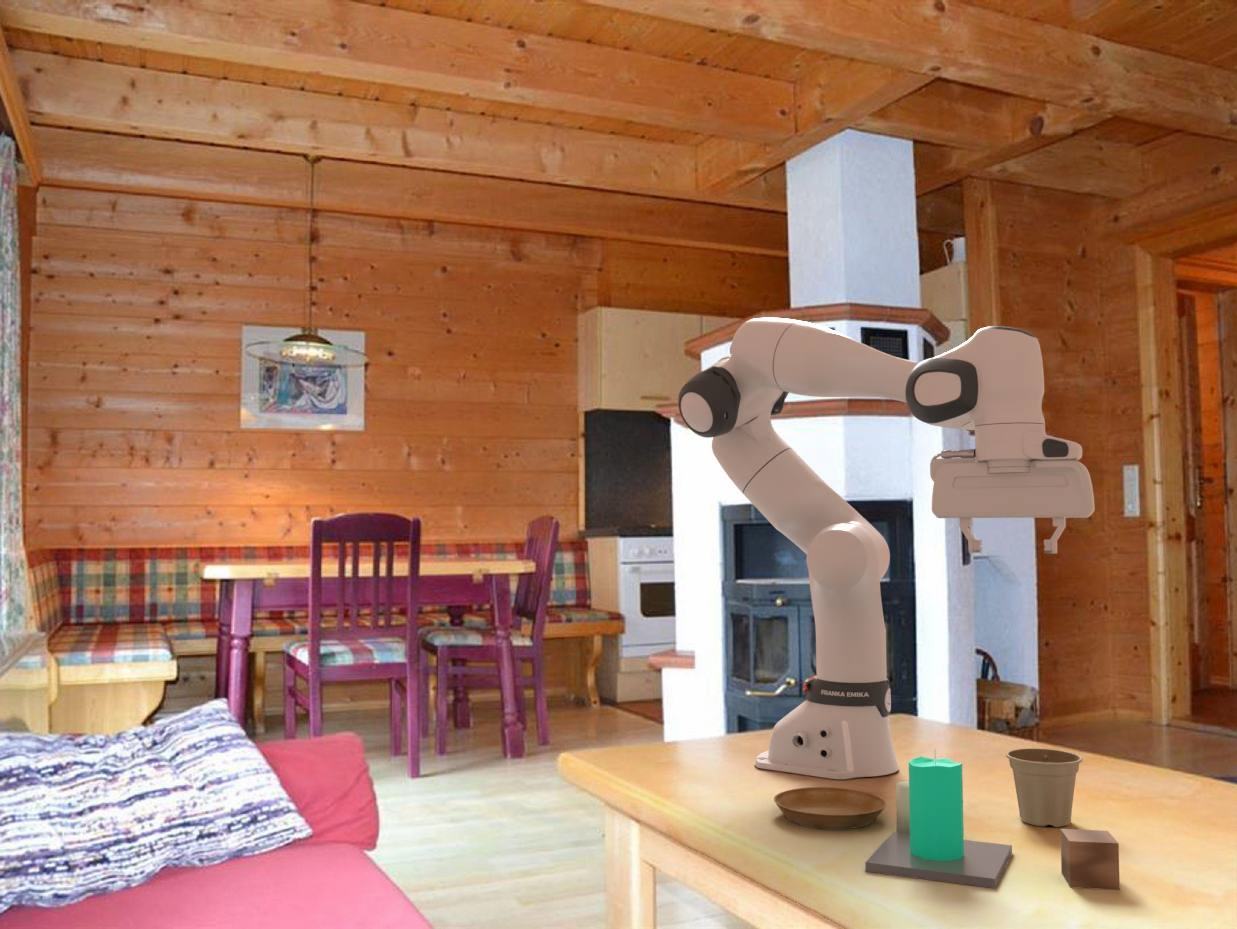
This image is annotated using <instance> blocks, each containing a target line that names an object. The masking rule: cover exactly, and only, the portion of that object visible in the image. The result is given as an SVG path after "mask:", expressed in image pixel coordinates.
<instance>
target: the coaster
mask: <svg viewBox="0 0 1237 929" xmlns="http://www.w3.org/2000/svg"><path fill="white" fill-rule="evenodd" d="M1012 856H1013V845H1011V844H1003V843H996V842H995V843H994V842H987V841H985V842H984V841H980V840H979V841H977V840H969V839H964V855H963V857H962V858H960V859H956V860H952V861H936V860H928V859H923V858H920V857H917V856H914V855H913V854H912V853H911V852H910V833H901V832H897V831H892V833H891V834H889V835H888V837H887V838H886V839H885V840H884V841H883V842H882V843H881V845H880V846H878V848H876V850H875V851H874V852H873V853H872V854H871V856H870V857H868V859H867V860H866V861H865V862H864V863H865V867H864V868H865V872H867V873H868V872H869V873H877V874H884V875H885V874H886V875H891V876H897V877H898V876H900V877H906V878H916V879H923V880H928V881H935V882H937V881H938V882H944V883H945V882H946V883H952V884H957V885H958V884H959V885H967V886H976V887H982V888H991V889H996V887H997V885H998V883H999V881H1000V880H1001V877H1002V875H1003V872H1004V871H1005V869H1006V867H1007V864H1008V863H1009V862H1010V858H1011V857H1012Z"/></svg>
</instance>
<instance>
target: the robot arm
mask: <svg viewBox="0 0 1237 929" xmlns="http://www.w3.org/2000/svg"><path fill="white" fill-rule="evenodd" d="M730 344H731V345H730V354H728V355H726V356H724V357H722V358H720V359H719V360H717V362H715V363H713V364H712V365H711V366H708V367H707V368H706V369H704V370H702V371H700V372H698V373H696V374H695V375H693V376H692V377H691V378H690V379H689V380H688V381H687V382H686V383H685V384H684V385H683V386H682V388H681V389H680V391H679V394H678V398H677V405H678V411H679V414H680V416H681V419H682V420H683V423H685V425H686V427H688V428H689V430H690V431H692V432H693V433H694V434H695V435H697V436H699V437H702V438H707V439H708V438H712V440H711V449H712V453H713V455H714V457H715V459H716V460H717V461H718V464H719V465H720V467H721V468H722V470H723V471H724V473H725V474H726V475H727V477H728V478H729V479H730V480H731V482H732V483H733V484H734V485H735V486H736V487H737V489H738V490H739V491H740V492H741V493H742V494H743V495H744V496H745V498H747V500H749V502H750V503H751V504H752V505H753V506H754V507H755V508H756V509H757V510H758V512H760V513H761V515H763V517H764V518H765V519H766V520H767V521H768V522H769V523H770V524H771V526H773V527H774V528H775V529H776V530H777V531H778V532H779V533H781V534H782V535H783V536H785V537H786V538H787V539H788V540H789V541H791V542H792V543H793V544H794V545H796V547H798V548H799V549H800V550H801V551H802V552H803V553H804V554H806V565H807V566H806V567H807V570H808V578H809V590H810V598H811V606H812V612H813V617H814V627H815V653H816V654H815V655H816V656H815V660H816V661H815V662H816V666H815V667H816V675H814V676H812V677H810V678H809V679H808V681H805V682H804V684H803V685H802V687H803V689H802V692H804V697H805V699H806V700H804V701H803V702H802V703H800V704H799V705H798V706H796V707H795V708H794V709H792V710H791V711H790V712H789V713H787V714H786V715H785V716H783V717H782V718H781V719H780V720H779V721H777V722H776V724H775V725H774V726H773V728H772V731H771V735H770V739H769V745H768V746H769V747H768V750H766V751H763V752H761V753H759V754H758V755H757V756H756V758H755V762H754V763H755V764H754V765H755V766H756V768H759V769H764V770H770V771H771V770H772V771H778V772H785V773H790V774H791V773H792V774H797V775H805V776H812V777H818V778H825V779H832V780H847V779H855V778H864V777H865V778H866V777H870V778H871V777H879V776H886V775H891V774H894V773H896V772H898V771H899V770H900V767H899V764H898V762H897V758H896V754H895V750H894V746H893V740H892V735H891V725H890V717H889V716H890V713H891V710H892V709H891V708H892V706H891V705H892V698H891V696H892V695H891V694H892V693H891V686H890V680H889V679H888V678H887V675H888V674H887V672H888V671H887V669H888V668H887V629H886V624H885V619H884V617H885V616H884V612H883V611H884V610H883V604H882V603H883V602H882V595H881V593H882V592H881V580H882V579H883V578H884V576H885V575H886V573H887V571H888V569H889V566H890V561H891V559H890V558H891V554H890V553H891V552H890V548H889V545H888V543H887V541H886V539H885V538H884V536H883V535H882V534H881V533H880V531H879V530H877V529H876V528H875V527H874V526H873V525H872V524H871V523H870V522H869V521H868V520H867V519H866V518H865V517H863V515H861V513H859V512H858V511H857V510H856V509H855V508H854V507H853V506H852V505H851V504H849V503H848V501H846V500H845V499H844V498H843V497H842V496H841V495H840V494H838V493H837V492H836V490H834V489H833V488H832V487H830V486H829V485H828V484H827V483H826V482H825V481H824V480H823V479H822V478H821V477H820V476H819V475H818V473H817V472H816V471H814V469H812V468H811V466H809V464H808V463H807V462H806V461H805V460H804V459H803V458H802V457H801V456H800V455H799V454H798V453H797V451H795V449H793V448H792V447H791V445H789V444H788V443H787V442H786V441H785V440H784V439H783V438H782V437H781V436H780V435H779V434H778V433H777V432H776V431H775V428H774V427H773V425H772V421H771V419H772V418H771V416H776V415H778V414H779V415H780V413H781V412H782V411H783V410H784V407H785V406H784V405H785V401H786V398H787V397H788V395H789V393H790V394H792V395H799V396H805V397H806V396H807V397H814V398H815V397H816V398H817V397H819V398H820V397H821V398H853V397H854V398H856V397H857V398H859V397H860V398H864V397H865V398H867V397H868V398H879V399H880V398H882V399H890V400H894V401H899V402H902V403H906V404H907V408H908V410H909V412H910V413H911V414H912V415H913V417H914V418H916V419H917V420H918V421H921V422H922V423H926V424H927V425H930V426H934V427H941V428H950V429H956V430H964V431H967V432H971V433H974V448H971V449H957V450H952V449H946V450H945V449H944V450H942V451H940V453H937V454H935V455H934V456H933V457H932V458H931V461H930V463H929V469H930V471H929V473H930V478H931V481H933V486H932V498H931V512H932V514H933V515H934V516H935V517H936V518H937V519H959V522H958V523H959V529H960V530H961V531H962V533H963V535H964V537H965V538H966V539H967V542H968V553H969V554H982V551H983V548H982V545H983V544H982V542H983V540H982V539H977V538H975V536H974V534H973V533H972V531H971V529H970V528H971V527H973V526H974V525H973V524H974V523H973V519H993V518H994V519H1004V518H1005V519H1009V518H1010V519H1017V518H1021V519H1022V518H1023V519H1024V518H1025V519H1027V518H1028V519H1029V518H1033V519H1034V518H1035V519H1036V518H1041V519H1042V518H1050V519H1052V526H1053V527H1056V529H1055V531H1054V532H1053V535H1051V537H1050V539H1044V540H1043V546H1044V548H1043V554H1054V555H1055V554H1058V540H1059V539H1060V537H1061V535H1062V534H1063V532H1064V530H1065V529H1066V526H1067V525H1066V522H1067V521H1066V519H1067V518H1069V519H1070V518H1074V519H1075V518H1078V519H1079V518H1089V517H1091V516H1092V515H1093V514H1094V512H1095V510H1096V508H1095V507H1096V506H1095V495H1094V489H1093V483H1092V479H1091V474H1090V472H1089V470H1088V468H1087V467H1086V465H1084V464H1083V463H1082V462H1081V461H1080V460H1081V459H1082V458H1083V447H1082V445H1081V444H1079V443H1078V442H1077V441H1072V440H1068V439H1064V438H1062V437H1060V436H1057V435H1048V434H1047V432H1046V421H1045V420H1046V419H1045V417H1044V413H1043V408H1042V407H1043V406H1042V403H1043V398H1044V396H1045V376H1044V365H1043V364H1044V363H1043V355H1042V350H1041V349H1042V348H1041V346H1040V342H1039V339H1038V337H1036V335H1035V334H1034V333H1032V332H1030V331H1028V330H1025V329H1022V328H1015V327H1011V326H1004V325H1003V326H1001V325H1000V326H999V325H990V326H984V327H981V328H979V329H977V330H976V332H975V333H974V334H973V335H972V336H971V337H970V338H969V339H968V340H966V341H965V342H963V343H961V344H960V345H959V346H956V347H954V348H953V349H951V350H948V351H947V352H943V353H942V354H940V355H937V356H934V357H930V358H926V359H924V360H922V361H920V362H919V361H914V360H910V359H905V358H901V357H897V356H894V355H891V354H889V353H886V352H883V351H881V350H878V349H876V348H874V347H871V346H870V345H868V344H865V343H862V342H860V341H858V340H856V339H853V338H851V337H849V336H848V335H844V334H843V333H841V332H838V331H837V330H833V329H831V328H829V327H825V326H822V325H819V324H815V323H811V322H808V321H803V320H797V319H791V318H783V317H782V318H781V317H759V318H758V317H757V318H751V319H749V320H746V322H744V323H742V325H741V326H739V327H738V329H737V330H736V331H735V333H734V335H733V337H732V341H731V343H730ZM940 457H941V458H940Z"/></svg>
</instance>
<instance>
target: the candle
mask: <svg viewBox="0 0 1237 929" xmlns="http://www.w3.org/2000/svg"><path fill="white" fill-rule="evenodd" d="M933 752H934V758H931V757H926V756H919V757H915V758H910V760H909V761H908V781H909V809H910V852H911V853H912V854H913V855H914V856H917V857H920V858H923V859H928V860H936V861H952V860H956V859H960V858H962V857H963V855H964V840H965V839H964V837H965V836H964V794H963V793H964V790H963V785H964V784H963V783H964V782H963V762H956V761H953V760H952V759H949V758H948V757H941V758H937V757H936V756H937V749H936V748H934V751H933Z"/></svg>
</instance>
